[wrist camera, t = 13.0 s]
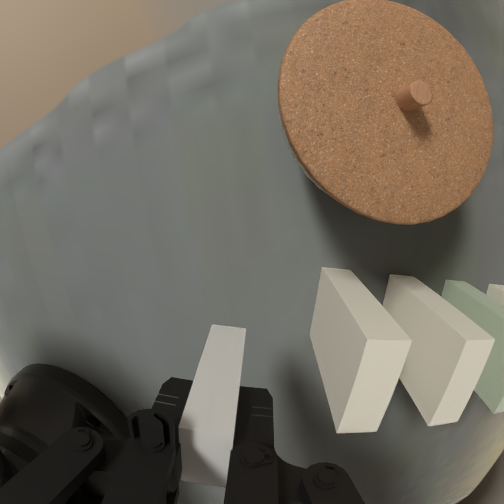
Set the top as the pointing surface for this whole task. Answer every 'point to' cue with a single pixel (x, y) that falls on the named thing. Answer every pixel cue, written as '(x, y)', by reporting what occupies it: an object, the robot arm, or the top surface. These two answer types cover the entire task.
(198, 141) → the top surface
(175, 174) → the top surface
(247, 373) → the top surface
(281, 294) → the top surface
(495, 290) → the tile
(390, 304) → the tile
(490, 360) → the tile
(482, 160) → the lidded jar
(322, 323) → the tile
